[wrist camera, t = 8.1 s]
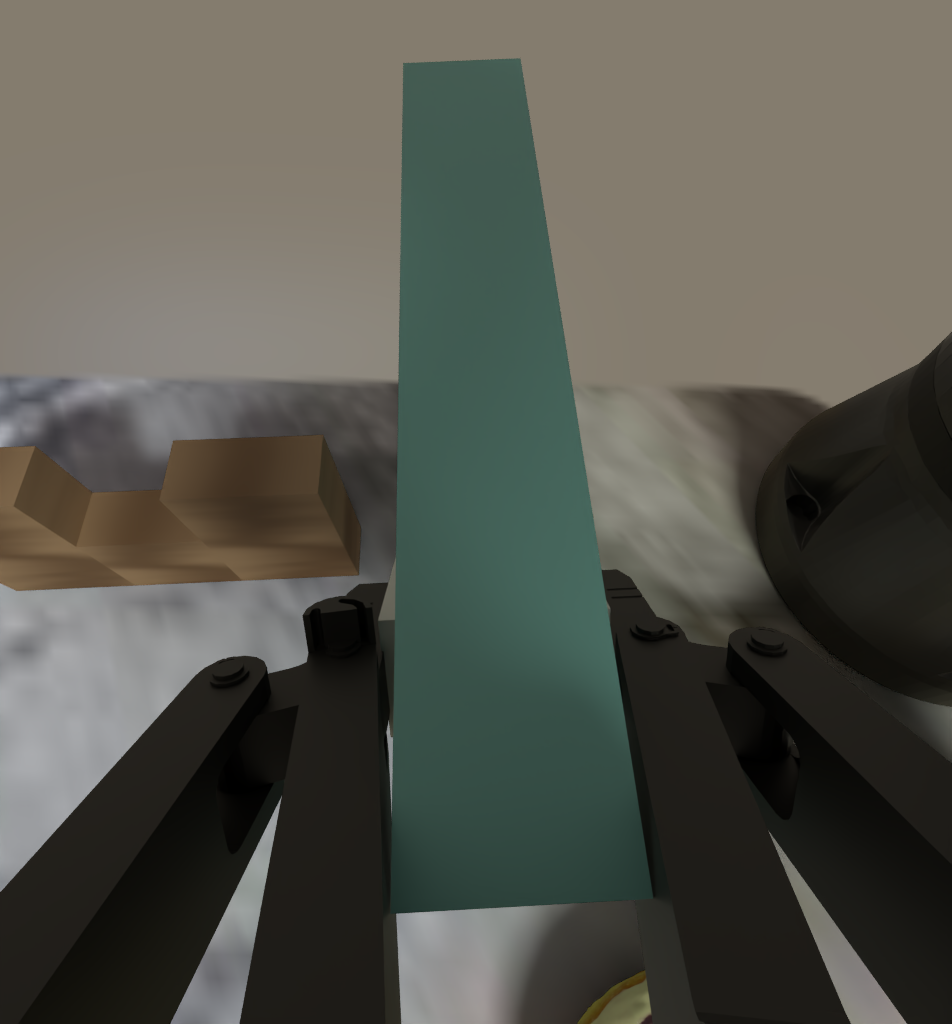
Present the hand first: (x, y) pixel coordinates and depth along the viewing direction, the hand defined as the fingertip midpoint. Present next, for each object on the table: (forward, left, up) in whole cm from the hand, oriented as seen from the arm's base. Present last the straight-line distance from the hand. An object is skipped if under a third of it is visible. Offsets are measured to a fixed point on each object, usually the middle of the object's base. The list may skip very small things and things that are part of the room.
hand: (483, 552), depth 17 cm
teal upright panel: (+1, -1, -4) cm, 4 cm away
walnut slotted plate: (+11, +9, -9) cm, 17 cm away
